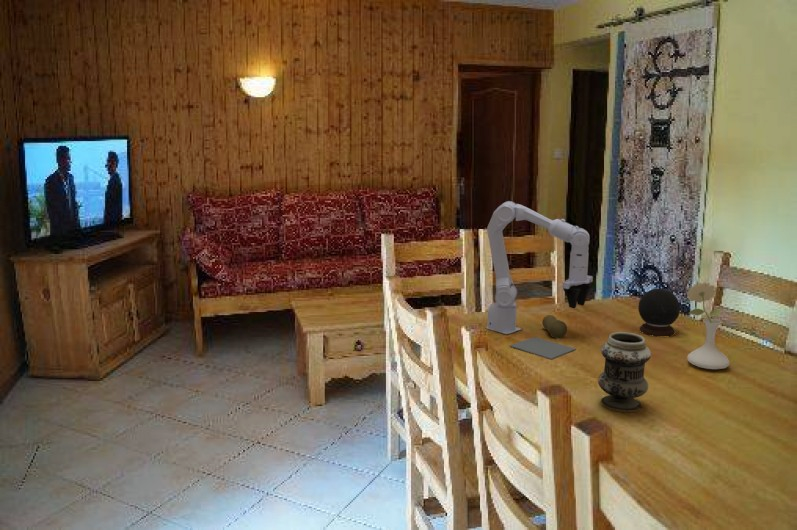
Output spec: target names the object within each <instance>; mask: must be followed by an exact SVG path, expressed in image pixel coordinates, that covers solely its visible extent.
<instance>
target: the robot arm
mask: <svg viewBox="0 0 797 530" xmlns="http://www.w3.org/2000/svg"><path fill="white" fill-rule="evenodd" d="M514 219H515V221H516V222H519V221H528V222H530V223H533V224H535V225H538V226H540V227H542V228H544V229H547V230H548V233H549V235H550V236H552V237H555V238H557V239H559V240H561V241H563V242H565V243H570V245H571V250H570V253H569V255H570V257H569V271H568V272H569V273H568V274H569V275H568V279H566V280H564V281H563V282H562V286H561V288H562V289H563V291H564V294H565V296H566V299H567V303H568V308H571V309H576V308H577V305H578V306H585V303H586V299H587V297H588V294H589V292H590V290H591V289H592V287H593V284H592V283H593V279H594V276H592V275H588V273H589V271H588V270H589V245H590V241H591V240H590V239H591V238H590V237H591V236H590V234H589V232H588V231H587V230H586V229H584V228H582V227H580V226H578V225H573V224H570V223H569V222H566V219H564V218H561V219H560V218H556V219H550V218H548V217H546V216H545V215H542V214H540V213H538V212H536V211H535V210H532V209H531V208H529V207H527V206H524V205H523V204H519V203H515V202H514V201H511V200H507V201H505V202H503V203H502V204H500V205H499V206H498V207H497V208H496V209H495V210H494V211H493V212H492V215H491V218H490V221H489V223H488V225H487V227H486V228H487V229H486V232H487V237H488V242H489V247H490V254H491V259H492V264H493V269H494V274H495V289H496V290H495V291H496V292H495V296H494V300H495V302H494V301H493V302H492V303H491V304H490V305H489V307H488V309H487V326H486V327H485V328H486V329H487V330H490V331H493V332H497V333H501V334H504V335H510V334H513V333H516V332H519V331H521V330H522V328H521V327H517V307H518V305H517V302H516V300H515V299H516V298H517V296H518V288H517V287H516V286H515V284H514V282H513V278H512V276H511V273H510V268H509V261H508V255H507V250H506V246H505V240H504V239H505V238H504V234H503V230H505V228H506V227H507V226H508V224H509V223H512V222H513V221H514Z"/></svg>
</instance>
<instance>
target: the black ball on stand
mask: <svg viewBox="0 0 797 530" xmlns="http://www.w3.org/2000/svg"><path fill="white" fill-rule="evenodd" d="M637 308H638V312H639V315H640V318H641V319H642V320H643V321H644V323H643V324H641V326H640V327H639V331H641V332H640V333H642V332H643V333H642V334H644V335H647V334H648V335H647V336H650V335H653V336H652V337H657V336H669V337H671V336H670V335H673V334H674V333H675V332H676V330H675V329H674V327H673V326H671V325H672V324H674V322H676V320H677V319H678V318H679V315H680V312H681V305H680V301H679V300H678V298H677V296H676V295H675V294H674V293H673V292H671V291H670V290H668V289H664V288H653V289H650V290H648V291H646V292H645V293H644V294H643V295H642V296H641V297H640V299H639V301H638V306H637ZM674 335H675V334H674ZM674 335H673V336H674Z"/></svg>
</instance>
